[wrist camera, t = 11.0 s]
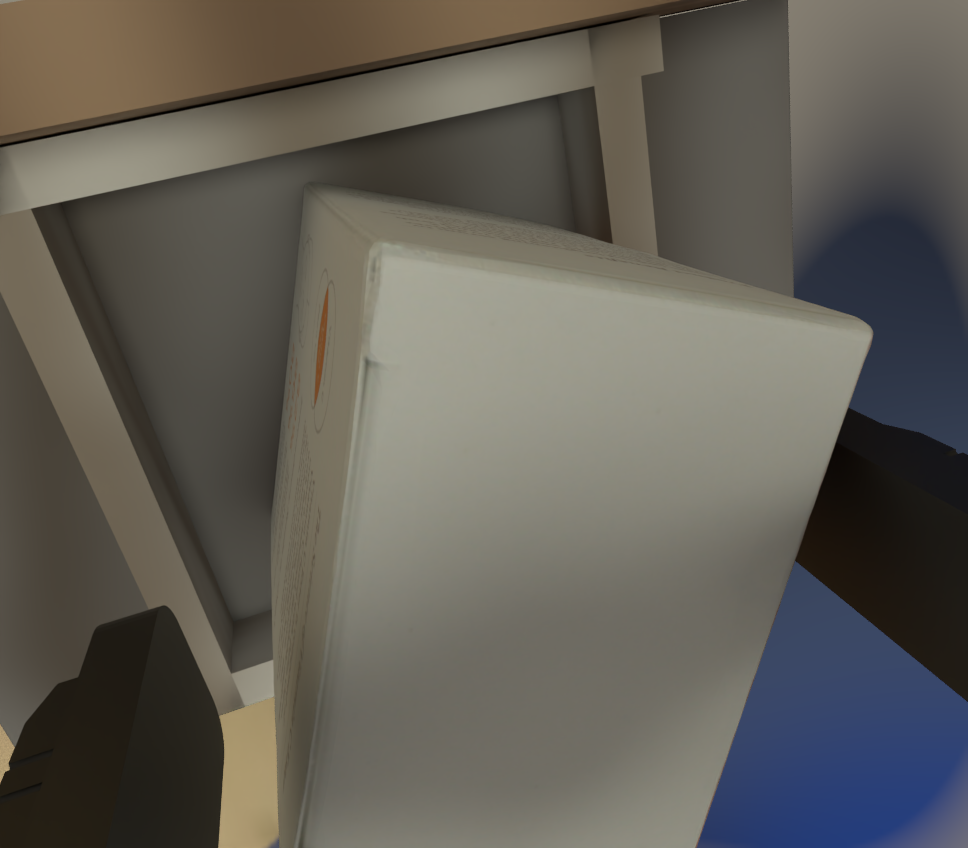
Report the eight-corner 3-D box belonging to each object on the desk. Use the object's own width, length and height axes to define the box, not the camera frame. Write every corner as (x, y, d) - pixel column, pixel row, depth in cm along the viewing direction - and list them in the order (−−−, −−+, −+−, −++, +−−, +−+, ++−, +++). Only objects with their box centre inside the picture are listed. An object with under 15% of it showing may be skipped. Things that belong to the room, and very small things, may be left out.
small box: (484, 527, 20) (694, 890, 10) (264, 518, 18) (274, 948, 8) (549, 218, 17) (904, 322, 8) (301, 172, 15) (372, 235, 6)
